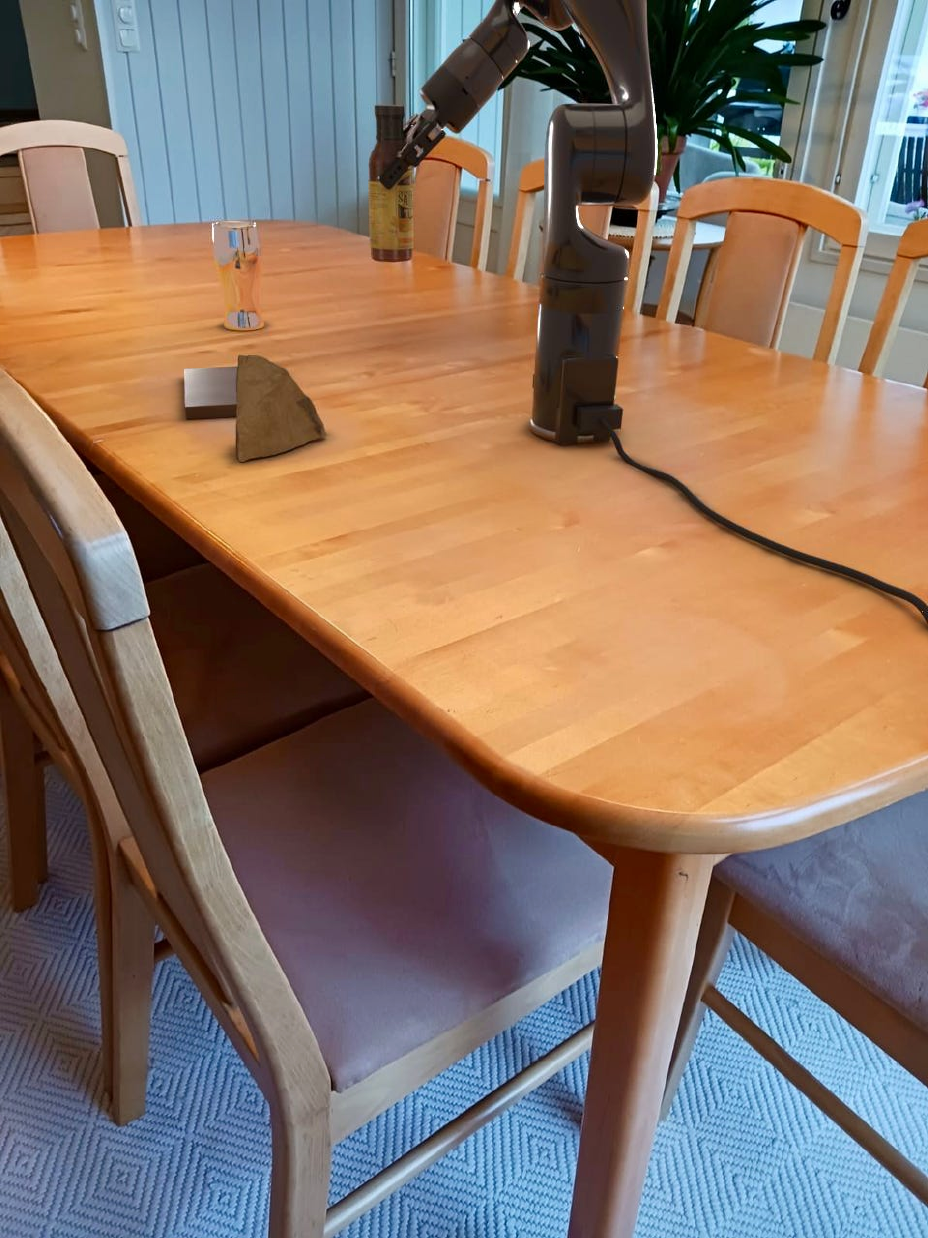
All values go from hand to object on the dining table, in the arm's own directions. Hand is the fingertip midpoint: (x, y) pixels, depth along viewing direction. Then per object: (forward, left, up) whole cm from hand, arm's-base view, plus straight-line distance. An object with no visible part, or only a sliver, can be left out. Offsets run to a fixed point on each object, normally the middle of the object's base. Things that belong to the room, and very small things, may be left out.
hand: (378, 181), depth 131 cm
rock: (-43, +19, -22) cm, 52 cm away
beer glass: (+12, +20, -22) cm, 32 cm away
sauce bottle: (0, -2, -11) cm, 11 cm away
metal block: (-24, +23, -22) cm, 40 cm away
